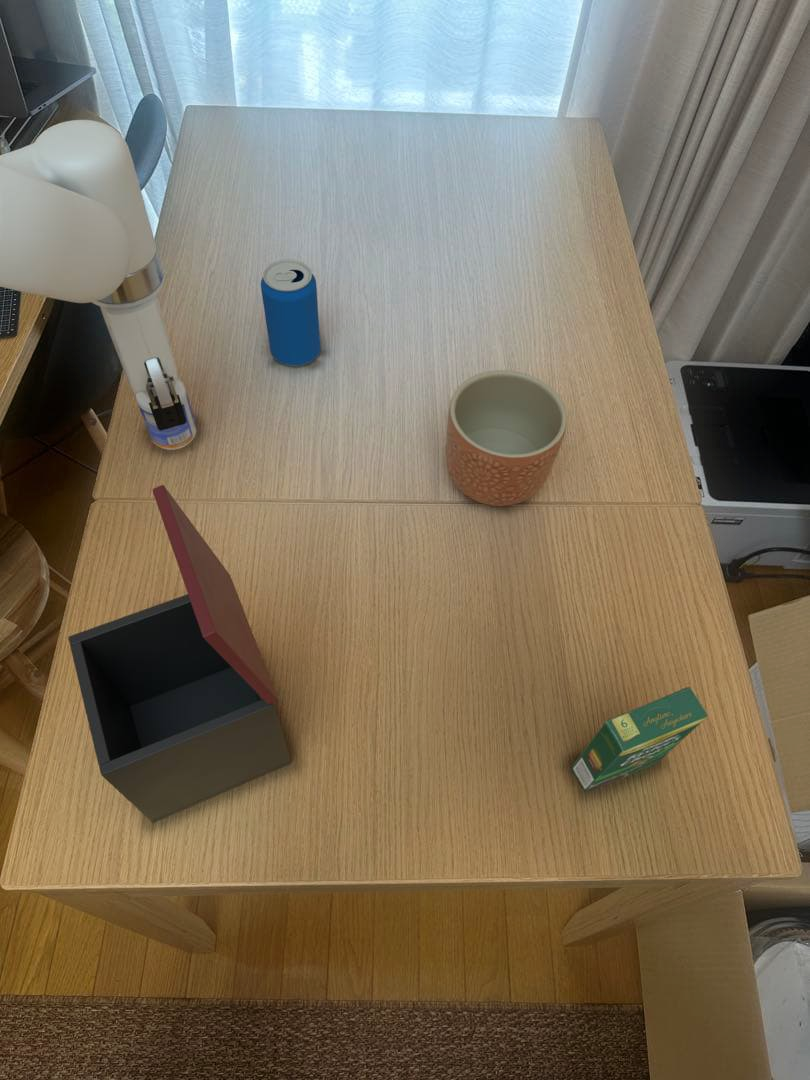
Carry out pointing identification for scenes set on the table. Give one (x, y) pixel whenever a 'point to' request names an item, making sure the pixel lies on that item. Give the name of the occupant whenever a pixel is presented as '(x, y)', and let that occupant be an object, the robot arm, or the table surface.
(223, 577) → the keepsake box lid
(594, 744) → the coffee box
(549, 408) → the planter
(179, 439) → the pill bottle
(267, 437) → the table surface
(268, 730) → the dark gray box
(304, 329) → the beverage can
